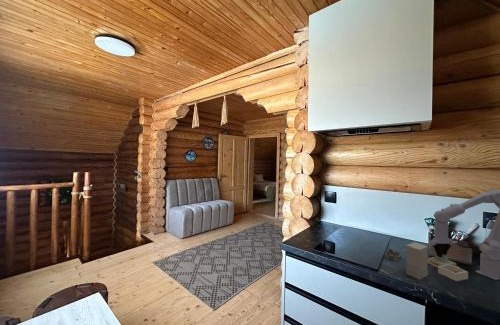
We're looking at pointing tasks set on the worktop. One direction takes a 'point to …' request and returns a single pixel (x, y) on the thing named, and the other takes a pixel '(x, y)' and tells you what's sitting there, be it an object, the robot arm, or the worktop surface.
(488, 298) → the worktop surface
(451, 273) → the box
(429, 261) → the cork mat
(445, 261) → the lid
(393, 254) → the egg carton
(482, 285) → the worktop surface
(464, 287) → the worktop surface
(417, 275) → the skincare box
